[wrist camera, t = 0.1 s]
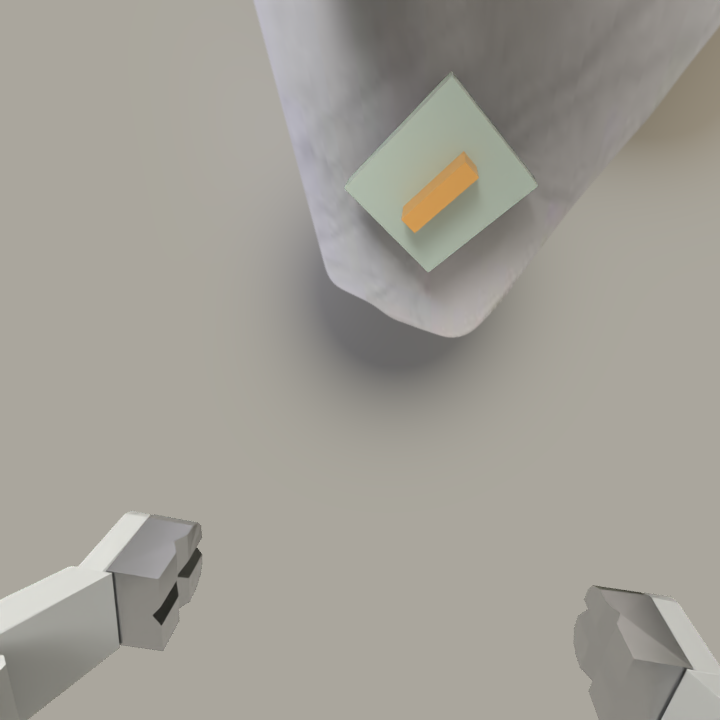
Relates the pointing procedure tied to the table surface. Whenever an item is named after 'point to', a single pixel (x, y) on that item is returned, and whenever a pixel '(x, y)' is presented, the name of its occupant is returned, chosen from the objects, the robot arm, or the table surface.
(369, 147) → the table surface
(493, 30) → the table surface
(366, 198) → the lid
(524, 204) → the table surface
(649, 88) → the table surface
